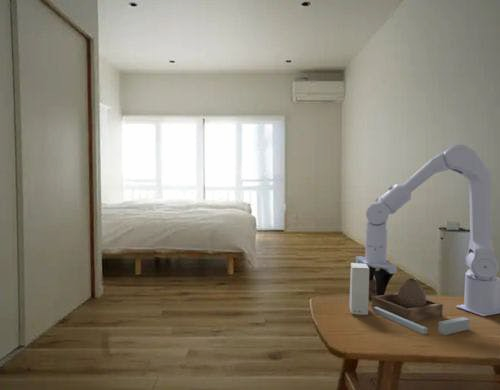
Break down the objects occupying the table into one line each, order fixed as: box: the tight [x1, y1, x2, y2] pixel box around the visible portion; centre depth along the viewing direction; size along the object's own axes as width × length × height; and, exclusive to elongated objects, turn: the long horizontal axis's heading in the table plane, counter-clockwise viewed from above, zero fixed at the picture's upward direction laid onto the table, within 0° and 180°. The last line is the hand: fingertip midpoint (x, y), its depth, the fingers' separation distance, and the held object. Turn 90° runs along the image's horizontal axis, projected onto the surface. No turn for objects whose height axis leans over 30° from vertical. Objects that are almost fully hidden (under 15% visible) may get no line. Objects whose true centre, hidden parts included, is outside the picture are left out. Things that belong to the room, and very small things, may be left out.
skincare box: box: [348, 262, 370, 316], centre depth 104 cm, size 6×4×12 cm
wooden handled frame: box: [368, 278, 444, 322], centre depth 107 cm, size 12×20×5 cm, turn 25°
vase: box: [397, 278, 427, 309], centre depth 102 cm, size 7×7×9 cm
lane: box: [372, 307, 470, 336], centre depth 98 cm, size 12×18×2 cm
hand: (374, 293), depth 114 cm, fingers open, 4 cm apart
